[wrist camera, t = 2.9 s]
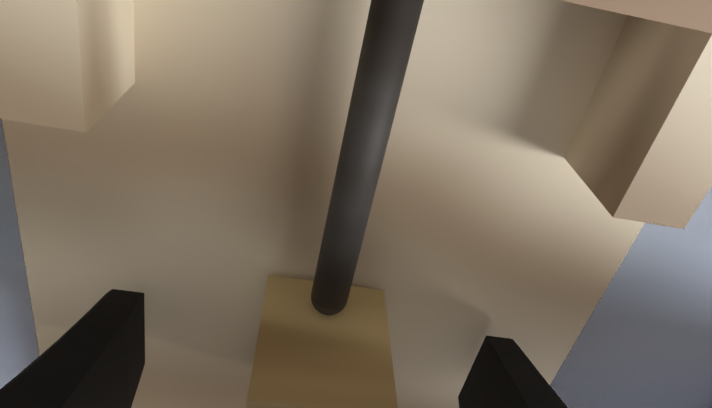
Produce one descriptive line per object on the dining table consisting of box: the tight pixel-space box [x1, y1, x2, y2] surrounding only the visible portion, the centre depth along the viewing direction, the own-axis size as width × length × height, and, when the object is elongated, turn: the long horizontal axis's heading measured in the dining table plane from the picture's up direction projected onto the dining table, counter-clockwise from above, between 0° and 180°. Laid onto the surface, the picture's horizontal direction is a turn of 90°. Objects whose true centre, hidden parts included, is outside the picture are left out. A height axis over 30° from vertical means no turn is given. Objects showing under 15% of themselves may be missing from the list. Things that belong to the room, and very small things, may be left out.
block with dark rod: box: [246, 0, 712, 408], centre depth 7 cm, size 16×6×4 cm, turn 169°
